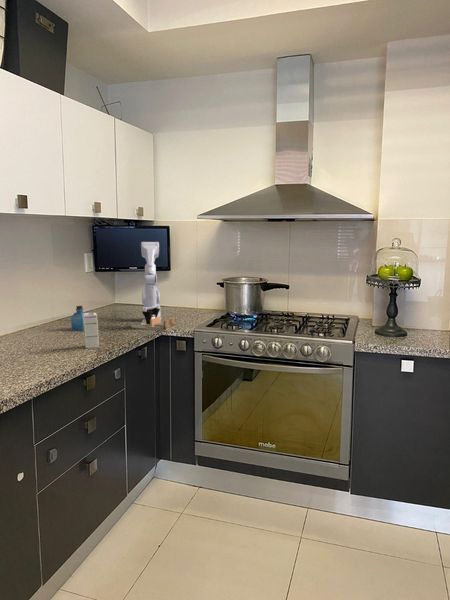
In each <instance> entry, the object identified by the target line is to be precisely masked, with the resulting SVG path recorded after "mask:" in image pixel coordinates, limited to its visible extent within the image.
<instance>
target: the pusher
mask: <svg viewBox="0 0 450 600" xmlns="http://www.w3.org/2000/svg"><path fill="white" fill-rule="evenodd" d="M161 318H162V317H156V318H153V319H151V320H150V326H156V327H163V326H164V324H163V323H161V322H162V319H161Z"/></svg>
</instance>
